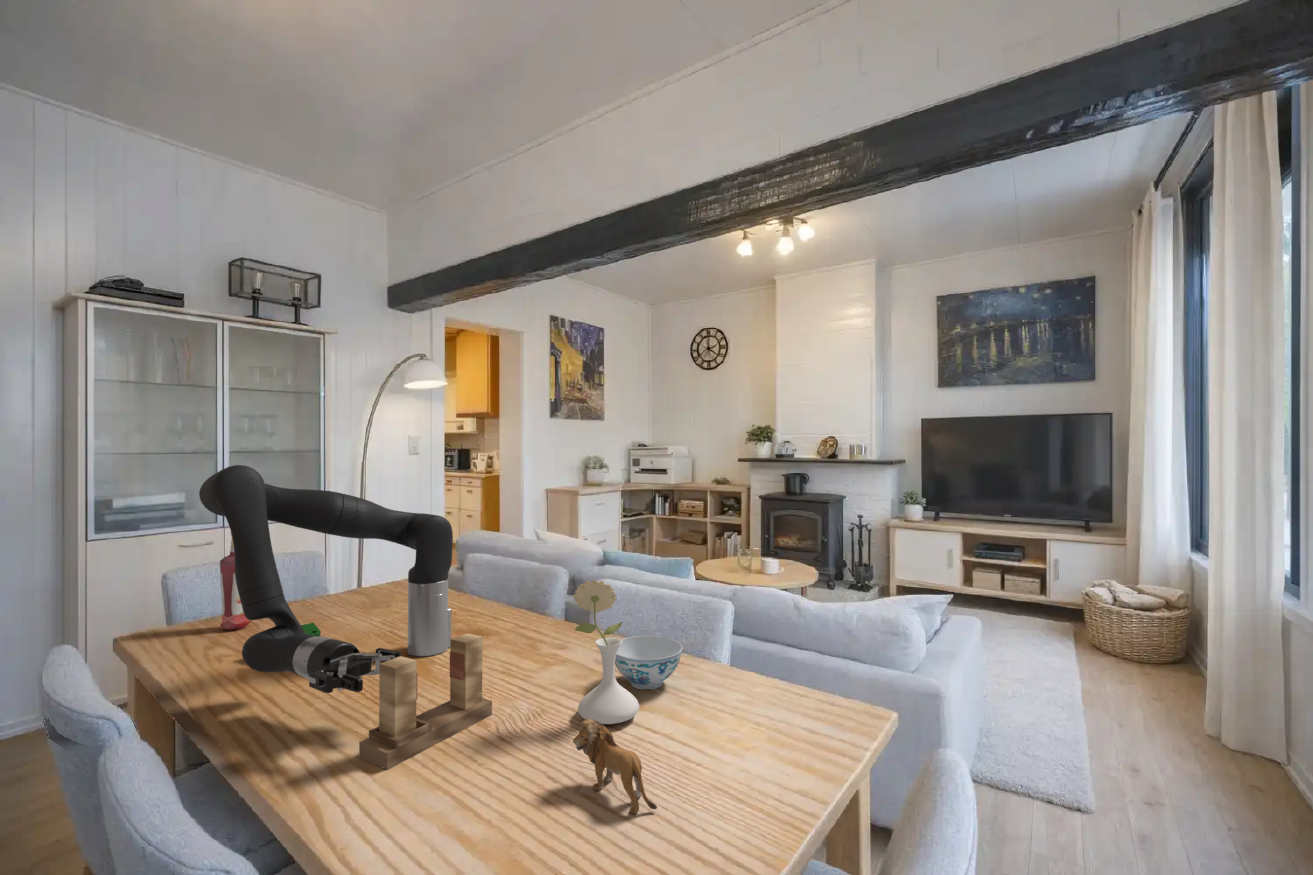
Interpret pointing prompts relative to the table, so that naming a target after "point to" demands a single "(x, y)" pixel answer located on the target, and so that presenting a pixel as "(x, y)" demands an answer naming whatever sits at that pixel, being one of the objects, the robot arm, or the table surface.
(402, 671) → the tall wooden pillar
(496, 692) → the table surface
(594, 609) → the flower in vase
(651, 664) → the chinaware
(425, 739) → the wooden block stand
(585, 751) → the lion figurine
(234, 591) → the liquor
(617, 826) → the table surface
